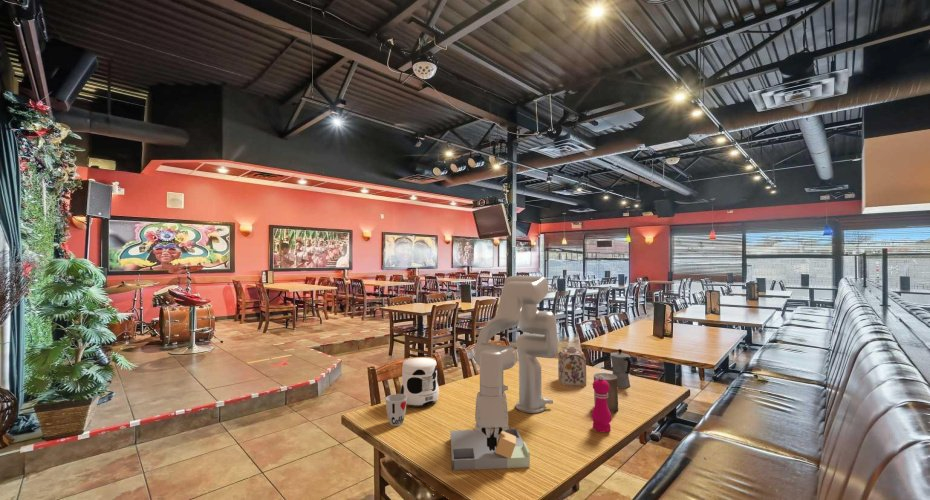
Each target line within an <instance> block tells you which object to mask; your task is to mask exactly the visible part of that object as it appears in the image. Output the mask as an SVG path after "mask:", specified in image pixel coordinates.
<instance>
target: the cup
mask: <svg viewBox="0 0 930 500" xmlns="http://www.w3.org/2000/svg"><path fill="white" fill-rule="evenodd" d="M406 400H407V396H406V395H403V394H400V393H396V394H395V393H394V394H390V395H387V396H386V397H385V410H386V414H387V420H388V423H389V425H390V426H392V427H398V426H401V425H403V423H404V421H405V417H406V412H407V410H406V409H407V405H406Z"/></svg>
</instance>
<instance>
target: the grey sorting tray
mask: <svg viewBox="0 0 930 500" xmlns="http://www.w3.org/2000/svg"><path fill="white" fill-rule="evenodd" d="M493 429H494V428H489V430H490V433H491V434H492V433H493ZM504 432H507V433H509V434H511V435H514V436H516V445H515V448H514V450H513V453H512V456H511V459H509V458H507V457H504V456H502V455H500V454H497V453H495V451H493V450H491V451H490V449H489V447H487V436H486V435H485V434H484V433H483V432H482V431H477V430H475V429H462V430H450V447H451V448H450V451H451V453H450V455H451V470H452V471H466V470H471V471H472V470H489V469H490V470H491V469H512V468H513V469H517V468H531V464H530V463H531V461H530V460H531V459H530V456H531V455H530V453H531V452H530V450H529V447H528V445H527V443H526V441H523V438H522V437H521V434H520V432H519V430H518V428H509V429H508V430H504ZM499 435H500V434H499ZM499 435H498V437H497V441H498V438H499ZM495 449H496V446H495Z"/></svg>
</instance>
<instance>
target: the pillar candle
mask: <svg viewBox="0 0 930 500" xmlns="http://www.w3.org/2000/svg"><path fill="white" fill-rule="evenodd" d="M600 375H602V376H603V380H606V381H607V382H608V384H609V391H608V392H607V393H608V398H607V405H608V408H609V410H610V413H615V412H618V411H619V390H618V389H619V387H618V383H617V376H616V375H613V374H612V373H607V372H597V373H594V374H593V382H594V381H595V380H597V379H599V378H598V377H599V376H600ZM594 392H595V390H594V389H593V393H594ZM593 396H594V395H593ZM595 403H596V398H595V396H594V404H595Z"/></svg>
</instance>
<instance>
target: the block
mask: <svg viewBox="0 0 930 500" xmlns="http://www.w3.org/2000/svg"><path fill="white" fill-rule="evenodd" d="M515 445H516V436H514V435H511V434H509V433H507V432H504V431H502V432H501V433H500V435H499V438H498V441H497V446H496V449H495V453H497V454H500V455H502V456H504V457H507V458H509V459H511V456H512V453H513V450H514V448H515Z"/></svg>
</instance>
